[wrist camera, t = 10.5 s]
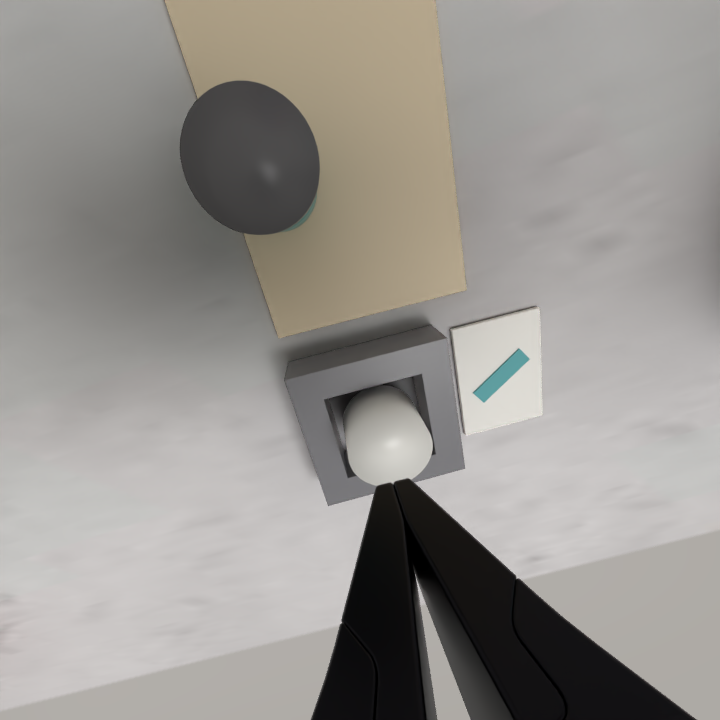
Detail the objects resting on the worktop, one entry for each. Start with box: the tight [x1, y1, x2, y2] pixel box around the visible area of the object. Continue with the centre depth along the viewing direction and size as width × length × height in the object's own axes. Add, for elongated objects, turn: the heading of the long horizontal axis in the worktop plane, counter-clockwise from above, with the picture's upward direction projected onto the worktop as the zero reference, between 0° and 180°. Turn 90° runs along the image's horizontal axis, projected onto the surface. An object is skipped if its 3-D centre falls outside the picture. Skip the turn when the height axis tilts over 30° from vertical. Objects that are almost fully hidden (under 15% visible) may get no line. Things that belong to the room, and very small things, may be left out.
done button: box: [343, 385, 433, 486], centre depth 17 cm, size 4×4×3 cm
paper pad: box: [164, 0, 467, 338], centre depth 15 cm, size 10×14×1 cm
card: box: [450, 307, 543, 436], centre depth 20 cm, size 5×7×1 cm
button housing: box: [284, 325, 465, 506], centre depth 19 cm, size 8×8×2 cm
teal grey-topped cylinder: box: [180, 80, 320, 235], centre depth 12 cm, size 4×4×6 cm
